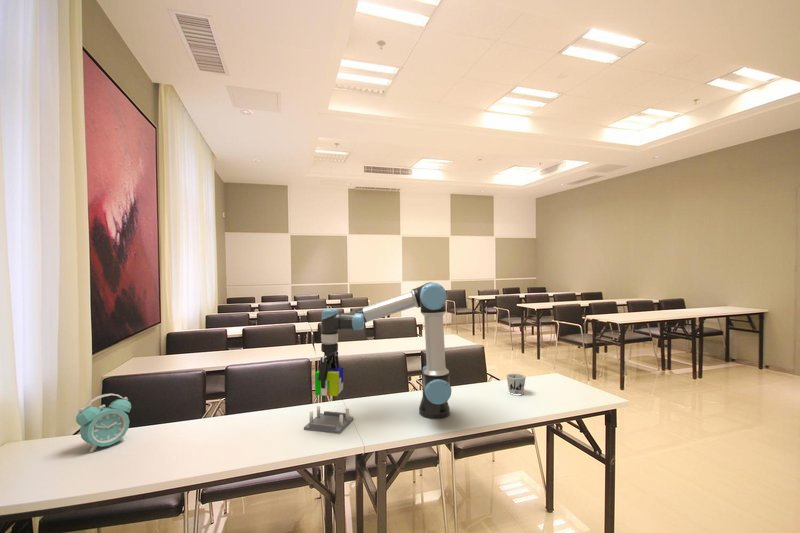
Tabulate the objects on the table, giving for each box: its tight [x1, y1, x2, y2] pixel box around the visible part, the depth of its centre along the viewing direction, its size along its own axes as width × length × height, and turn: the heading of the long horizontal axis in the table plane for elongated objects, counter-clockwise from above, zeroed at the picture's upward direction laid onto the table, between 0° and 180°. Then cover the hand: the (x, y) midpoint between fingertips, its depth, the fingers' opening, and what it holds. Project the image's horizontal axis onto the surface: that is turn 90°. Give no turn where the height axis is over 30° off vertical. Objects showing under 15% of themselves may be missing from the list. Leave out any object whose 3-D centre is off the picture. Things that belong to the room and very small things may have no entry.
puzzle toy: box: [314, 366, 344, 397], centre depth 165 cm, size 10×10×10 cm
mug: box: [506, 373, 527, 395], centre depth 209 cm, size 10×15×10 cm
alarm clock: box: [75, 393, 132, 453], centre depth 145 cm, size 17×10×20 cm, turn 148°
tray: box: [303, 405, 354, 435], centre depth 165 cm, size 17×16×6 cm
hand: (329, 391), depth 165 cm, fingers closed on puzzle toy, 10 cm apart
